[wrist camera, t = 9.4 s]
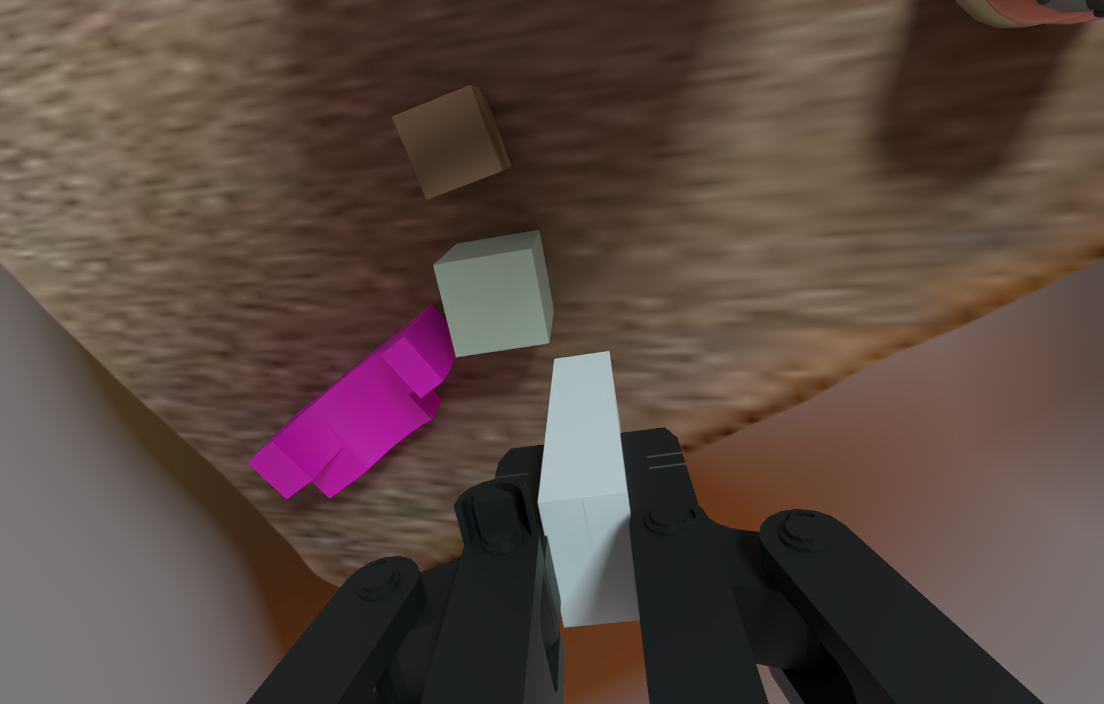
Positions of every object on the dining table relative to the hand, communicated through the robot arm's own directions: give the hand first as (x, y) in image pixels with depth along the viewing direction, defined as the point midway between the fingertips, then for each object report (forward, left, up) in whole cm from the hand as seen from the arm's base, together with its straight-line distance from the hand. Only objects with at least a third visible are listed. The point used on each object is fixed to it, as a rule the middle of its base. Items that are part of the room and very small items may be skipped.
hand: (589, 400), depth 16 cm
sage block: (+2, -6, -27) cm, 27 cm away
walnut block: (-8, -7, -27) cm, 28 cm away
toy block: (+9, -17, -27) cm, 33 cm away
